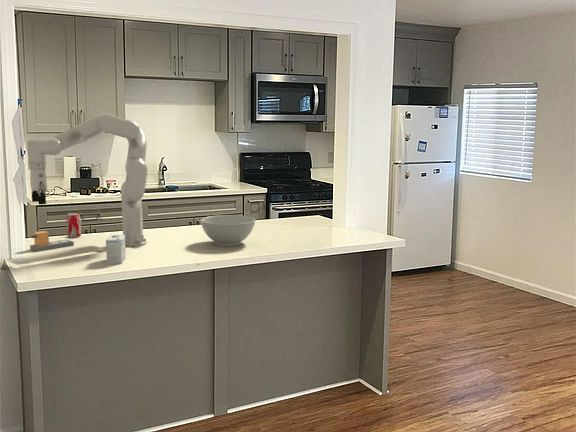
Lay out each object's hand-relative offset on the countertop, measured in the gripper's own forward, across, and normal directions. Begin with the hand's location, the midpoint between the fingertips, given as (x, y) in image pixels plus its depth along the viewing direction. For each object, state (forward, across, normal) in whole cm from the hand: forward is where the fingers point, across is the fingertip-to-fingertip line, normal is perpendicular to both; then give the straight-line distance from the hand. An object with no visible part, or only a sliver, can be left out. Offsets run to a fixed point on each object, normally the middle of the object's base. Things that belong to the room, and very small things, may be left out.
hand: (38, 202), depth 302 cm
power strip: (+22, -4, -4) cm, 23 cm away
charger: (+21, -5, +1) cm, 22 cm away
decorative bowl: (+22, -40, -78) cm, 91 cm away
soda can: (+22, +21, -24) cm, 39 cm away
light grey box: (+22, -41, -20) cm, 51 cm away
